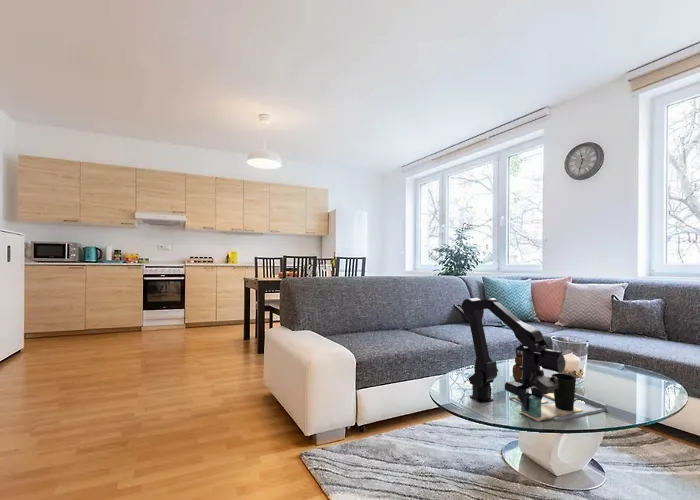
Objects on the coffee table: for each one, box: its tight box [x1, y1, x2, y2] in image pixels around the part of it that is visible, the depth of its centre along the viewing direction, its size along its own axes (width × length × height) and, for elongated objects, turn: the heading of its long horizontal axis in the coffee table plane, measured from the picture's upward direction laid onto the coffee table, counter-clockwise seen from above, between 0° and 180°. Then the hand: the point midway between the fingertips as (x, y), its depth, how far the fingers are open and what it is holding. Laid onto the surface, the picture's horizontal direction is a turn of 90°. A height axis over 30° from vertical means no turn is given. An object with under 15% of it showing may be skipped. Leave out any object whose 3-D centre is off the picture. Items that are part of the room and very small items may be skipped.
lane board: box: [508, 392, 608, 422], centre depth 140 cm, size 25×21×2 cm
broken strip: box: [515, 393, 555, 404], centre depth 144 cm, size 22×8×2 cm, turn 110°
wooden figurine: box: [512, 349, 523, 384], centre depth 165 cm, size 7×6×15 cm
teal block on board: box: [518, 395, 583, 422], centre depth 132 cm, size 22×8×7 cm, turn 110°
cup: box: [551, 372, 577, 411], centre depth 134 cm, size 8×8×12 cm
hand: (531, 410), depth 129 cm, fingers open, 4 cm apart
